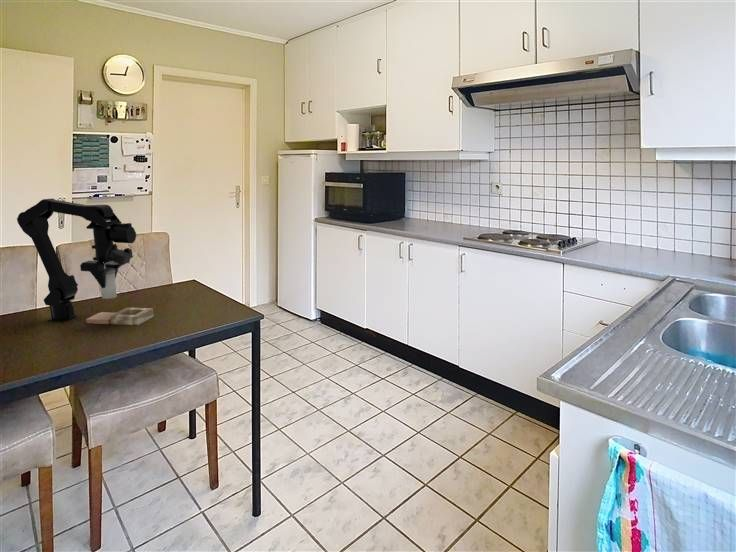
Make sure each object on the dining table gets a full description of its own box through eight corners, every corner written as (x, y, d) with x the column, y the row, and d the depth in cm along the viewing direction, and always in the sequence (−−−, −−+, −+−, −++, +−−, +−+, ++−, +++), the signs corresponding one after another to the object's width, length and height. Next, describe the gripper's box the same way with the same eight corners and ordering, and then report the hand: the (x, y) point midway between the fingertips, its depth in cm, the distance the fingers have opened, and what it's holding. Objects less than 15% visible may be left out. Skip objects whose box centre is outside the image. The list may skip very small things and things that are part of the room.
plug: (97, 298, 168) (94, 270, 166) (106, 294, 173) (104, 267, 171) (111, 299, 168) (109, 271, 166) (120, 295, 173) (118, 268, 171)
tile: (86, 323, 169) (86, 319, 169) (101, 316, 177) (100, 312, 176) (108, 324, 168) (107, 319, 168) (121, 316, 176) (121, 312, 176)
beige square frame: (111, 324, 168) (110, 315, 167) (127, 315, 178) (126, 307, 177) (138, 325, 167) (137, 317, 167) (153, 316, 177) (152, 308, 176)
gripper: (109, 247, 156) (113, 294, 160) (141, 238, 174) (144, 280, 178) (76, 246, 157) (81, 292, 161) (111, 237, 175) (115, 279, 179)
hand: (108, 285), depth 170 cm, fingers closed on plug, 5 cm apart
